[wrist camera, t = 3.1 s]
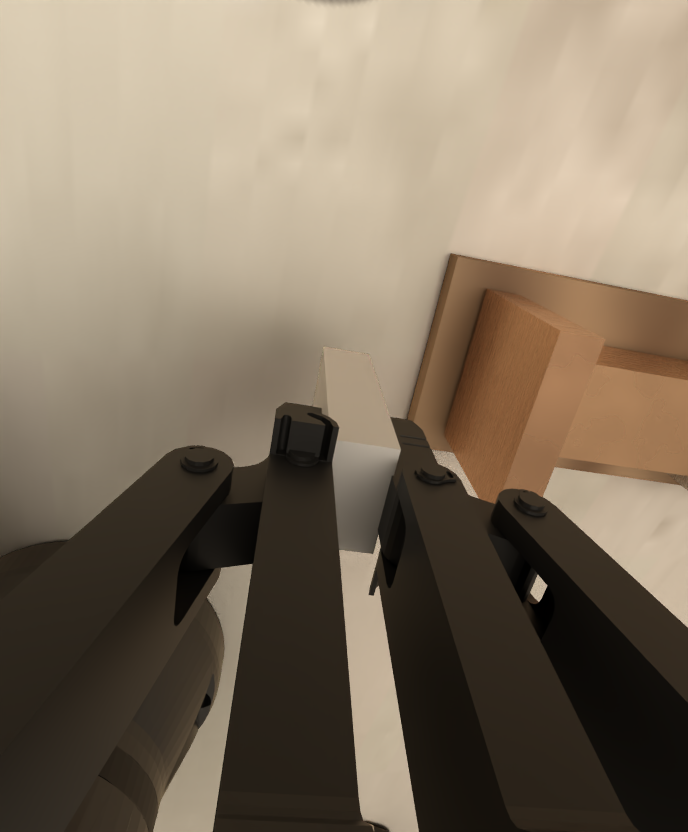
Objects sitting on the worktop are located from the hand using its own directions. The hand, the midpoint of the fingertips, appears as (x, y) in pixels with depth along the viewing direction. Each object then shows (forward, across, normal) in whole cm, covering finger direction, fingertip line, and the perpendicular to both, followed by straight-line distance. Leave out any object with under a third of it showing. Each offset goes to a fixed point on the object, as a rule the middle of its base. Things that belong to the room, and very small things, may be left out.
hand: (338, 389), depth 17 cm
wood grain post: (+6, +16, 0) cm, 17 cm away
